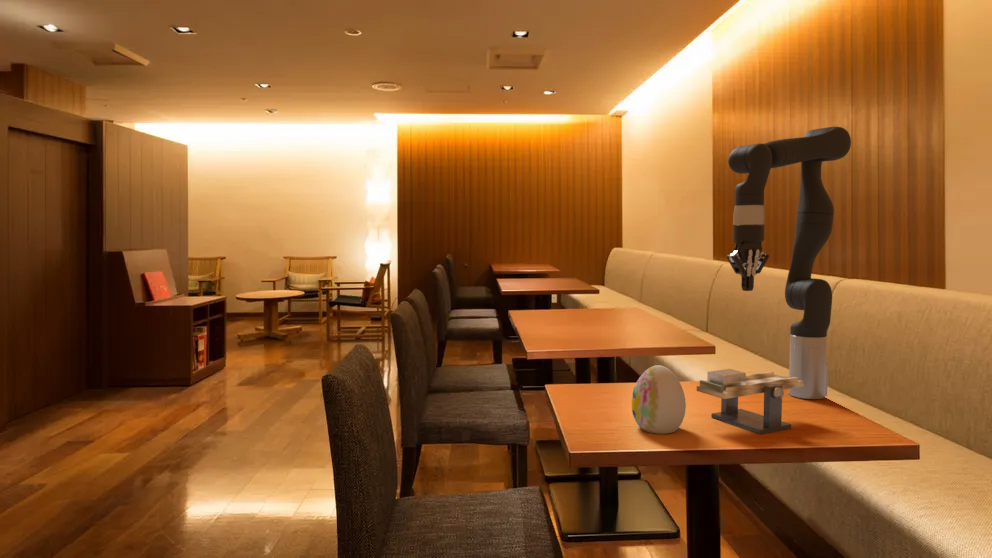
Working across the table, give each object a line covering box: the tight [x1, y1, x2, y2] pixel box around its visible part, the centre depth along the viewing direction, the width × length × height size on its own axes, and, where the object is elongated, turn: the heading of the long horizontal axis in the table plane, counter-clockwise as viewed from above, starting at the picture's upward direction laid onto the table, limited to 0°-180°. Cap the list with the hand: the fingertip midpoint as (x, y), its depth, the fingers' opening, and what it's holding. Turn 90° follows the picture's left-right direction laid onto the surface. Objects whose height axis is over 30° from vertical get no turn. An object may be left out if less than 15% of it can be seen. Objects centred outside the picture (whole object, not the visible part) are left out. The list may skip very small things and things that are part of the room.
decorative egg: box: [631, 364, 687, 435], centre depth 147 cm, size 12×12×15 cm
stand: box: [711, 384, 792, 435], centre depth 151 cm, size 10×17×10 cm, turn 25°
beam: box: [696, 371, 804, 399], centre depth 151 cm, size 26×11×3 cm, turn 115°
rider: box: [706, 368, 747, 391], centre depth 148 cm, size 7×5×4 cm
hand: (747, 290), depth 162 cm, fingers closed
